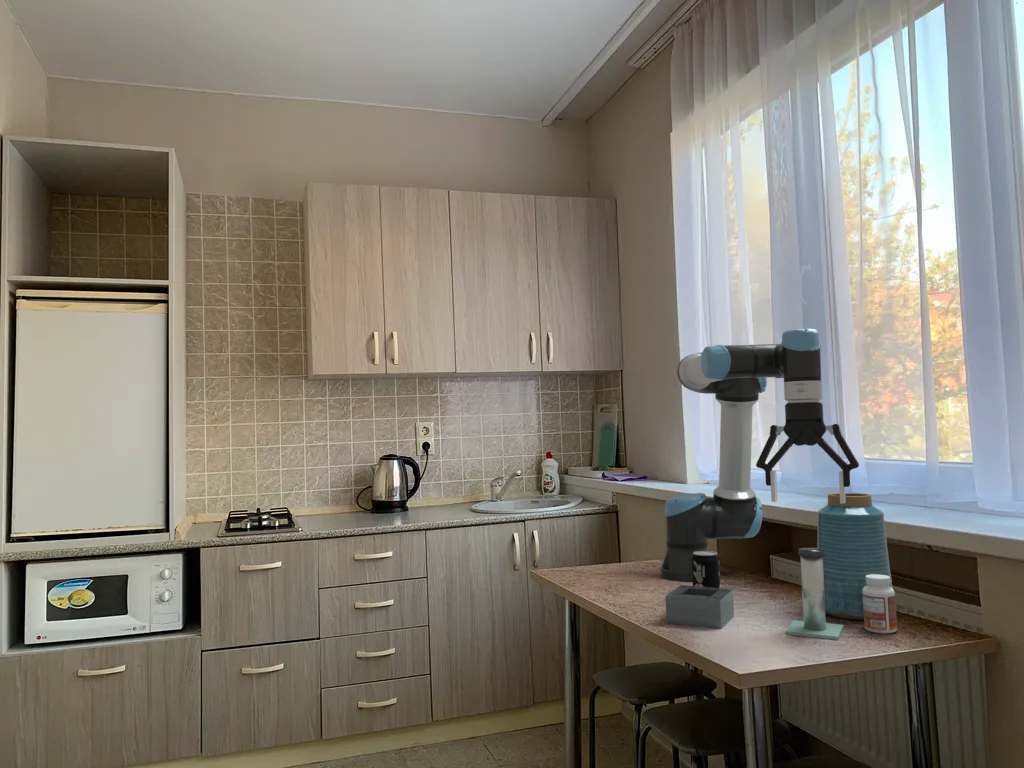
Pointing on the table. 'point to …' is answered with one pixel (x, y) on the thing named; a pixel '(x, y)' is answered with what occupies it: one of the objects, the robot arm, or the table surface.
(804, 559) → the glass tube
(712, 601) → the block
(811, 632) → the mat
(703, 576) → the beverage can
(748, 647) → the table surface
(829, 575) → the vase
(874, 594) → the pill bottle
